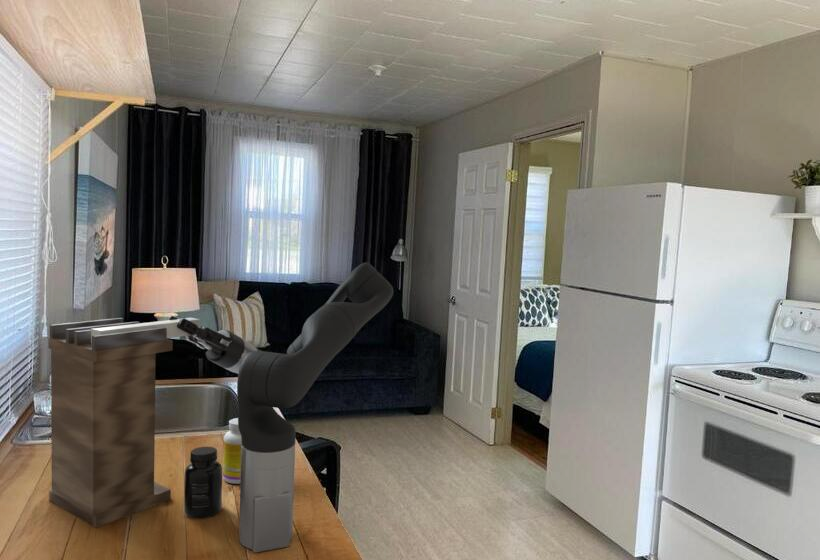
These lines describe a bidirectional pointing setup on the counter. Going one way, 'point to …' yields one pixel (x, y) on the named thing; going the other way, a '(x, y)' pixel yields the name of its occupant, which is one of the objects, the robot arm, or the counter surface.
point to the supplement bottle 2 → (232, 454)
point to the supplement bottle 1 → (203, 484)
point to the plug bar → (169, 324)
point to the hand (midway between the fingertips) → (174, 321)
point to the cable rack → (104, 420)
